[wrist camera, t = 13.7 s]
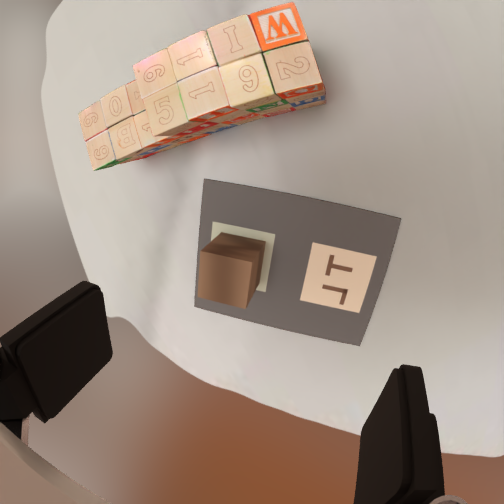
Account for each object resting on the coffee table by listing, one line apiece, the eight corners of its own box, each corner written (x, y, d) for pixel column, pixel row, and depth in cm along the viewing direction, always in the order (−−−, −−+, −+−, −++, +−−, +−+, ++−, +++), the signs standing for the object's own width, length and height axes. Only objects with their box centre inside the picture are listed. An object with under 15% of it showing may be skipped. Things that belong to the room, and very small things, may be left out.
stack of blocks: (143, 160, 35) (69, 177, 24) (130, 112, 33) (54, 112, 22) (327, 103, 28) (324, 82, 17) (309, 46, 26) (294, -1, 15)
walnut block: (265, 241, 34) (252, 262, 29) (259, 282, 36) (245, 309, 31) (221, 232, 35) (200, 250, 30) (217, 272, 37) (197, 296, 32)
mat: (400, 218, 30) (401, 219, 30) (359, 345, 36) (359, 346, 36) (204, 178, 34) (203, 179, 34) (194, 305, 40) (194, 306, 40)
